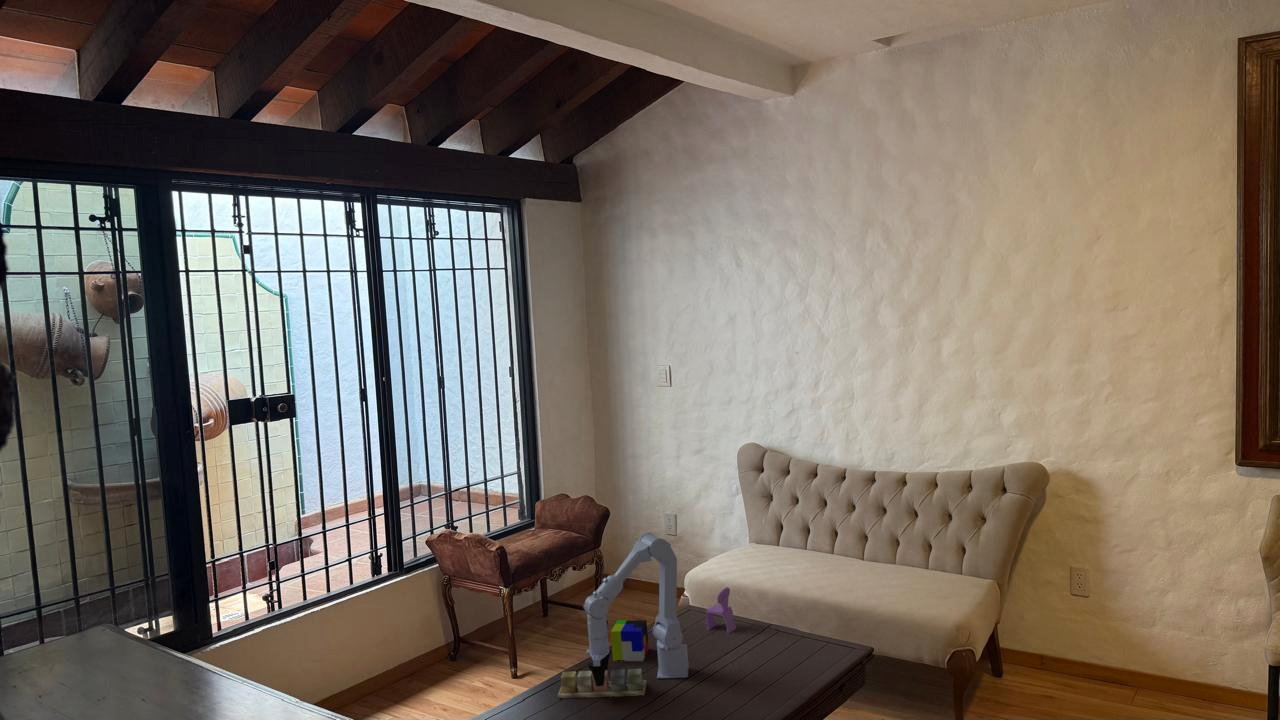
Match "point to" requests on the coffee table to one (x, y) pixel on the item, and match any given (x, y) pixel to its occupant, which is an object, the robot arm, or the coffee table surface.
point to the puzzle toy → (629, 640)
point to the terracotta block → (605, 686)
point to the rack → (616, 685)
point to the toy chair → (721, 611)
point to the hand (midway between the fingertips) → (601, 680)
